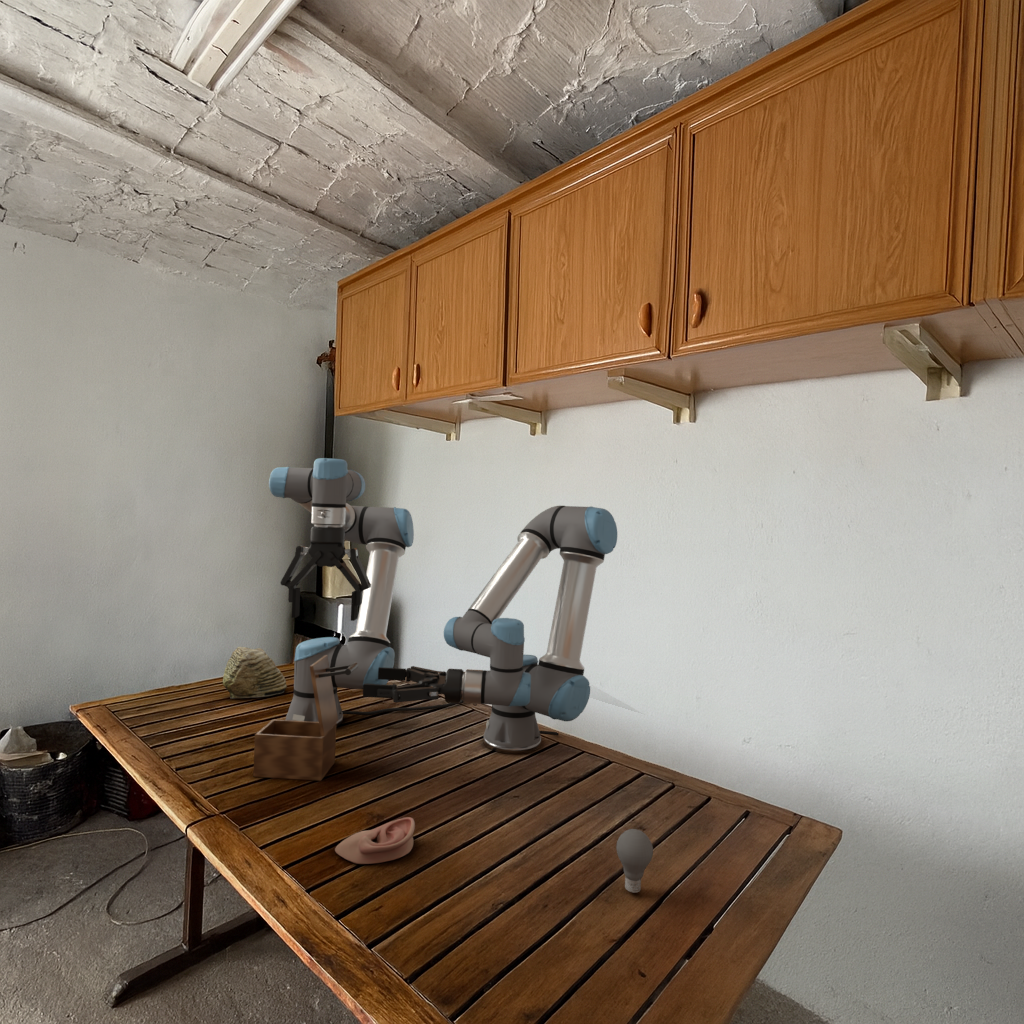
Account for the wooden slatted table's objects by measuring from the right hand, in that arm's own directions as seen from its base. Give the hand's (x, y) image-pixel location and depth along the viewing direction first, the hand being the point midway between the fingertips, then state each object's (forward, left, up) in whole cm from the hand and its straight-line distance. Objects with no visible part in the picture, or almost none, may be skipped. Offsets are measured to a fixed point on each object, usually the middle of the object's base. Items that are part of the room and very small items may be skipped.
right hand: (371, 681), depth 145 cm
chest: (+15, -7, -21) cm, 27 cm away
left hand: (+10, -5, +14) cm, 18 cm away
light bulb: (-33, +58, -21) cm, 70 cm away
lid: (+10, -5, -4) cm, 12 cm away
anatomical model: (+4, +32, -21) cm, 38 cm away
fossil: (+23, -67, -21) cm, 74 cm away
